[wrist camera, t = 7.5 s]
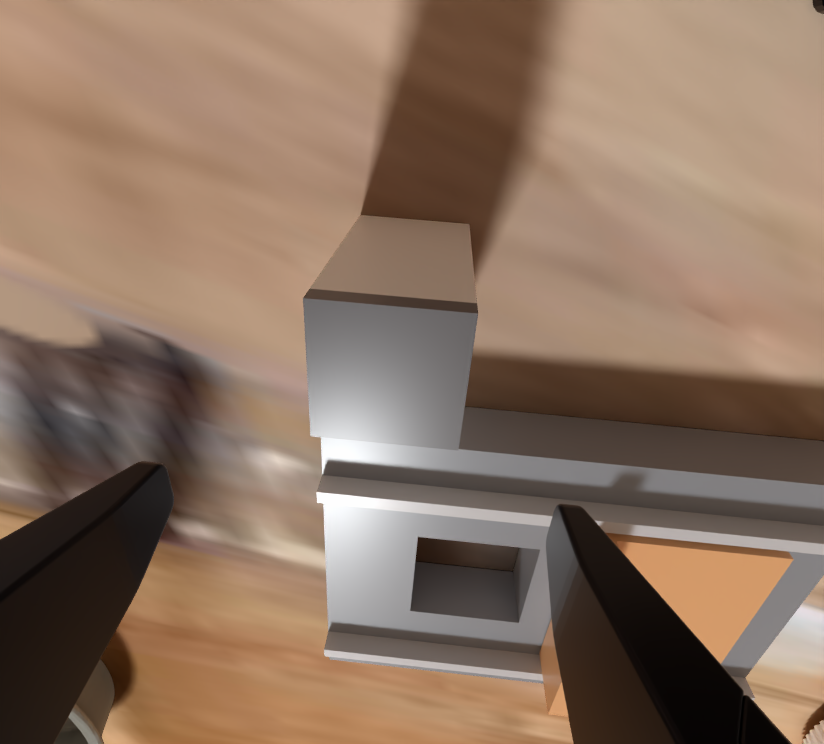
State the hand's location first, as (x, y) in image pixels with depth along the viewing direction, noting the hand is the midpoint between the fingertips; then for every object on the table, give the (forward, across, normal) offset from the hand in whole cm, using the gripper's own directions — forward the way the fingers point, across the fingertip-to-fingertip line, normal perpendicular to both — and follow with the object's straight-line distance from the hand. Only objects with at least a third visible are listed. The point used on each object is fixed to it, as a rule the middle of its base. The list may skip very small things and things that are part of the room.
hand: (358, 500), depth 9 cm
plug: (+12, 0, 0) cm, 12 cm away
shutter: (+9, -12, +14) cm, 21 cm away
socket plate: (+12, -8, +14) cm, 20 cm away
